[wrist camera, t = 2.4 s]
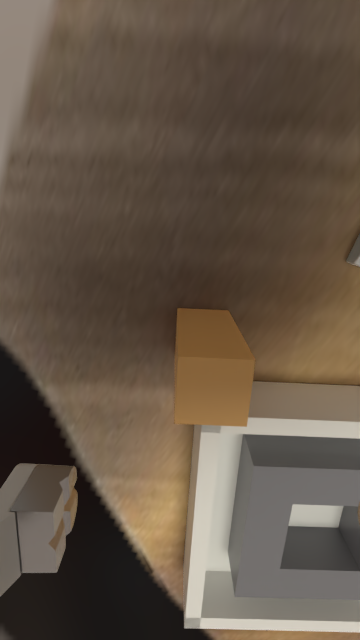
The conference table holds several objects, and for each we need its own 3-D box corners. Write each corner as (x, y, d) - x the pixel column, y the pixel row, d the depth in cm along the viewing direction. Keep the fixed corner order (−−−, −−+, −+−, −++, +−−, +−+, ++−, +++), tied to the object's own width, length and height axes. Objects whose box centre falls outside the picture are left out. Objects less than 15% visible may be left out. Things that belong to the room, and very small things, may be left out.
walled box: (197, 378, 21) (202, 415, 17) (448, 389, 21) (507, 428, 17) (183, 566, 26) (184, 628, 22) (388, 572, 26) (424, 633, 22)
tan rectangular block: (177, 307, 20) (177, 356, 13) (228, 310, 20) (255, 360, 13) (174, 355, 20) (174, 423, 14) (223, 357, 20) (246, 426, 14)
